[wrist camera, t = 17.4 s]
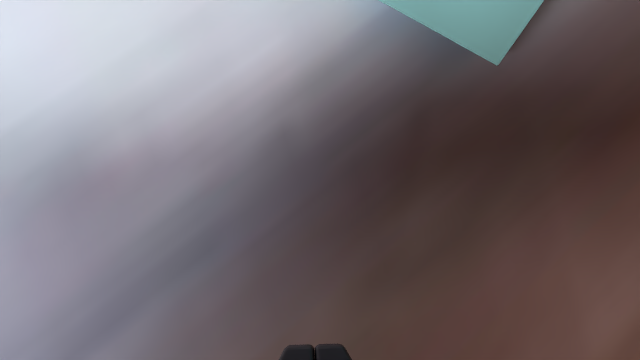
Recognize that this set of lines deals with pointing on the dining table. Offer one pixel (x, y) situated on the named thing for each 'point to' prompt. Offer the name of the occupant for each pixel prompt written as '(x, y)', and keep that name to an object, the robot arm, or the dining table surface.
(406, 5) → the teal domino
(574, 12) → the dining table surface
